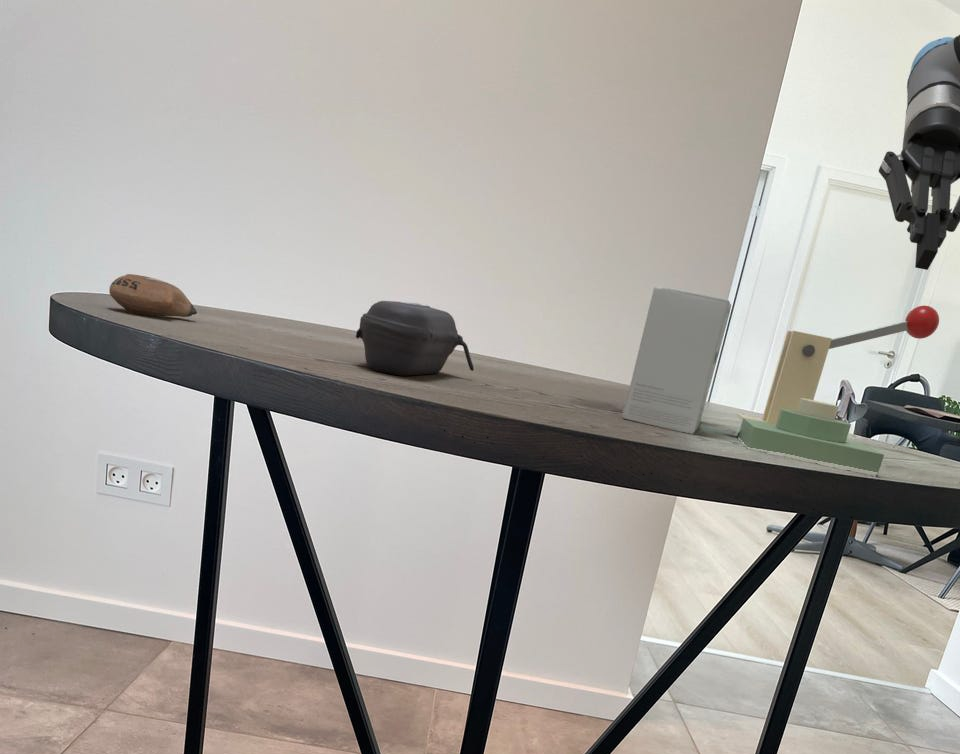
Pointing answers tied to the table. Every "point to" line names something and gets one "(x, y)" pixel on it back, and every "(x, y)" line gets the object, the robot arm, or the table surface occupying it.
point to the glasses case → (408, 338)
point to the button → (817, 409)
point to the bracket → (795, 373)
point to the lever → (897, 327)
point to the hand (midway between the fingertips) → (926, 259)
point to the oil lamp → (150, 297)
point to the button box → (810, 440)
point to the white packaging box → (676, 359)
